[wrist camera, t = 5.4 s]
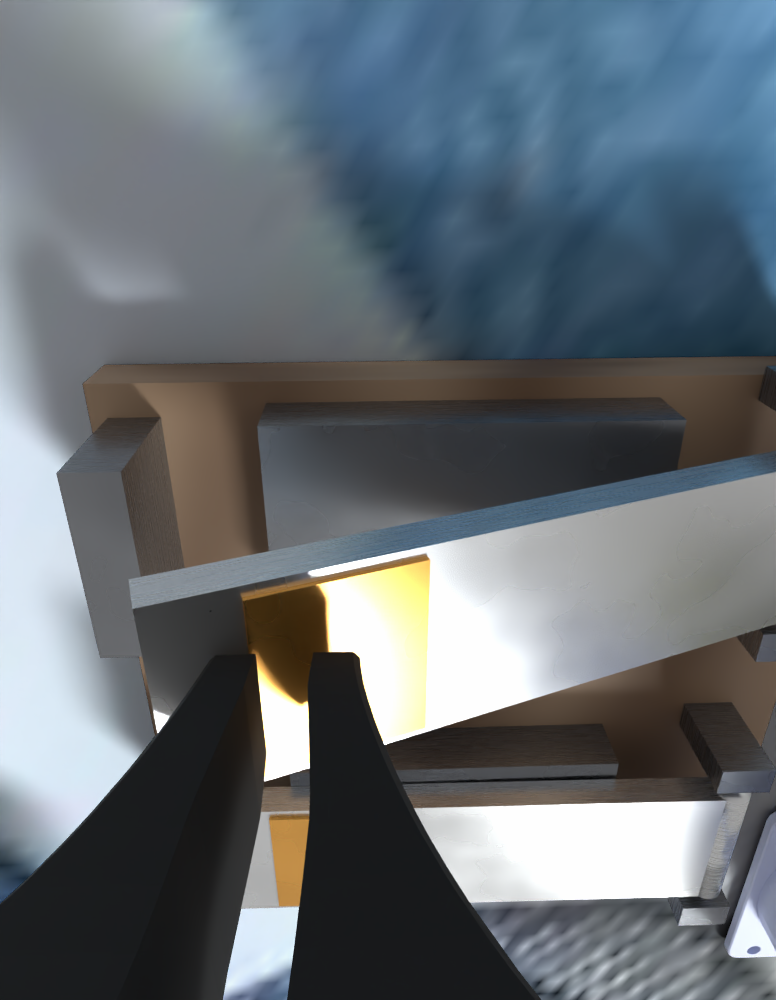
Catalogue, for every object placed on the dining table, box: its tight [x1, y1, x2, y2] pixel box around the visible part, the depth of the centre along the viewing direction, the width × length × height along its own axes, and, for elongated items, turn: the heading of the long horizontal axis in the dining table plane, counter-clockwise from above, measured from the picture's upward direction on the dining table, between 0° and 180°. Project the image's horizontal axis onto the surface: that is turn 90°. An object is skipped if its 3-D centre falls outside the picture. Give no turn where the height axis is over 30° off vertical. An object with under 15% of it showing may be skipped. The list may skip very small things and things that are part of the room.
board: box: [83, 356, 776, 787], centre depth 20 cm, size 18×16×2 cm
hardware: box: [56, 366, 776, 926], centre depth 18 cm, size 16×16×3 cm
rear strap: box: [241, 777, 751, 909], centre depth 20 cm, size 14×4×1 cm, turn 90°
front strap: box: [128, 451, 776, 781], centre depth 13 cm, size 14×4×1 cm, turn 90°
